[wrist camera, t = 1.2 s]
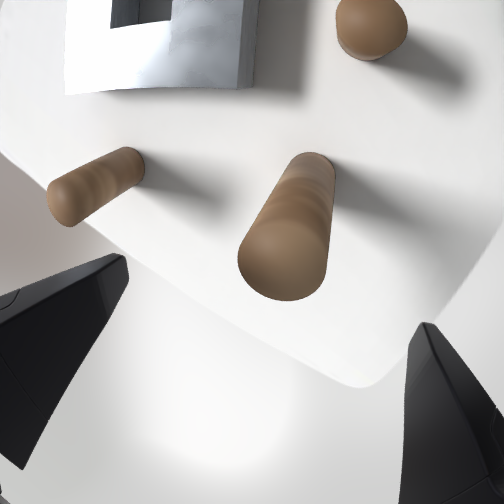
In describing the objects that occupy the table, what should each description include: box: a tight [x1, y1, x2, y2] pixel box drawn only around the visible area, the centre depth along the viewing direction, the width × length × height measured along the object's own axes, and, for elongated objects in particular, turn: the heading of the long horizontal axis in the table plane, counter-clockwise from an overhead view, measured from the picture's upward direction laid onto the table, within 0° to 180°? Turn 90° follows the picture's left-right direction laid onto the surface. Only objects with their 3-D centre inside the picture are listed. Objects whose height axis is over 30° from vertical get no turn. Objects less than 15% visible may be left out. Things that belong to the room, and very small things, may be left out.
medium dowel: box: [47, 147, 145, 227], centre depth 19 cm, size 3×3×7 cm
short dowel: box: [336, 0, 408, 61], centre depth 12 cm, size 3×3×5 cm
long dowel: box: [238, 152, 335, 301], centre depth 15 cm, size 3×3×10 cm
